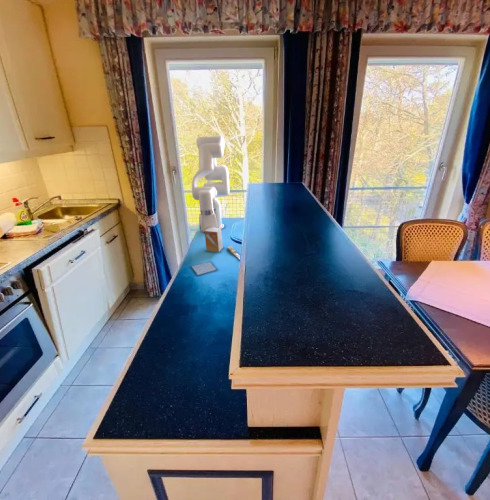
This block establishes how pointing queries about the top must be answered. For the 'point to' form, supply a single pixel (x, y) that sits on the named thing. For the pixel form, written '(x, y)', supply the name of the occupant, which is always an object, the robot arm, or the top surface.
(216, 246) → the small box
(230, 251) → the knife
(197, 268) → the cloth
